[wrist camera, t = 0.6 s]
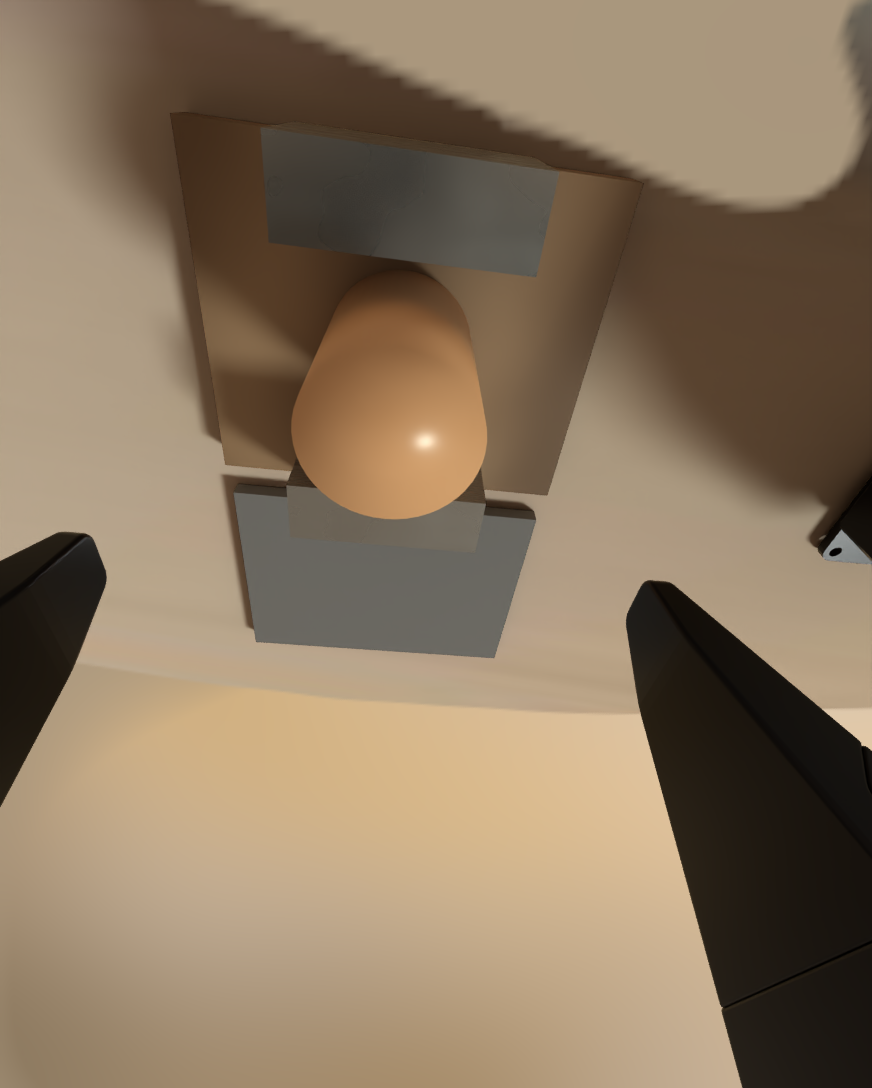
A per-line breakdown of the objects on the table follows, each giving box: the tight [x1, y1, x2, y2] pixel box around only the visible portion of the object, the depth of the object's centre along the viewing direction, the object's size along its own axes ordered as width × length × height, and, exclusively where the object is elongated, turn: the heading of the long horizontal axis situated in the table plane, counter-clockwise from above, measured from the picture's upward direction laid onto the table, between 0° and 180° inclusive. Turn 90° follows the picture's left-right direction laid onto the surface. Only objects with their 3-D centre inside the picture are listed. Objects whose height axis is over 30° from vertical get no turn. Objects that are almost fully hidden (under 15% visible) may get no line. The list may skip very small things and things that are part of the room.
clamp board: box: [170, 112, 644, 495], centre depth 17 cm, size 12×10×1 cm
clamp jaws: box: [260, 121, 559, 553], centre depth 15 cm, size 6×10×4 cm, turn 173°
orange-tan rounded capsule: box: [291, 270, 487, 519], centre depth 14 cm, size 4×4×6 cm
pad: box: [233, 484, 536, 658], centre depth 24 cm, size 12×9×1 cm
